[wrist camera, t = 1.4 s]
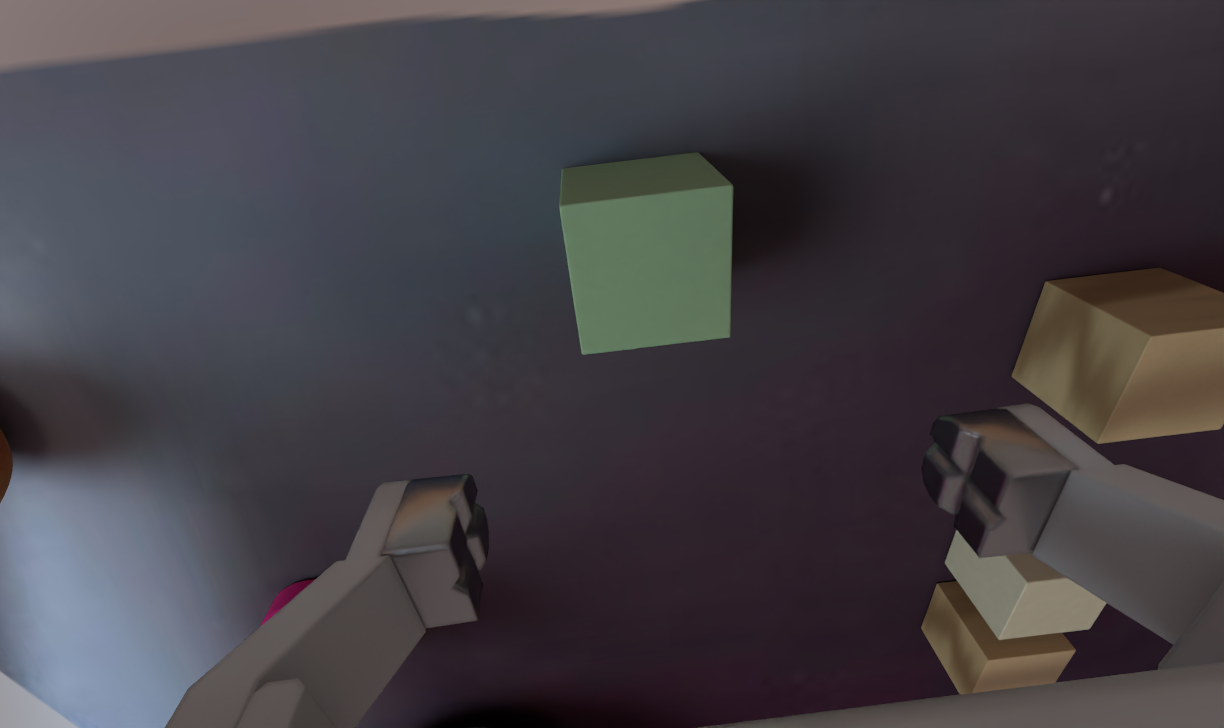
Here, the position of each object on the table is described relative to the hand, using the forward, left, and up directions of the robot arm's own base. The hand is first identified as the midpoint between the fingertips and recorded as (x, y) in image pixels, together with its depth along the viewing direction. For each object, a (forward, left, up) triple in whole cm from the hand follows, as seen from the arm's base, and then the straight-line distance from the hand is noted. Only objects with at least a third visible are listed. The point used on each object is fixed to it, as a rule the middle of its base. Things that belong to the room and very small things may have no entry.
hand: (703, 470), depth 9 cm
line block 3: (+7, +20, -13) cm, 25 cm away
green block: (0, 0, -13) cm, 13 cm away
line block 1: (+21, +20, -13) cm, 32 cm away
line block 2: (+28, +20, -13) cm, 37 cm away
